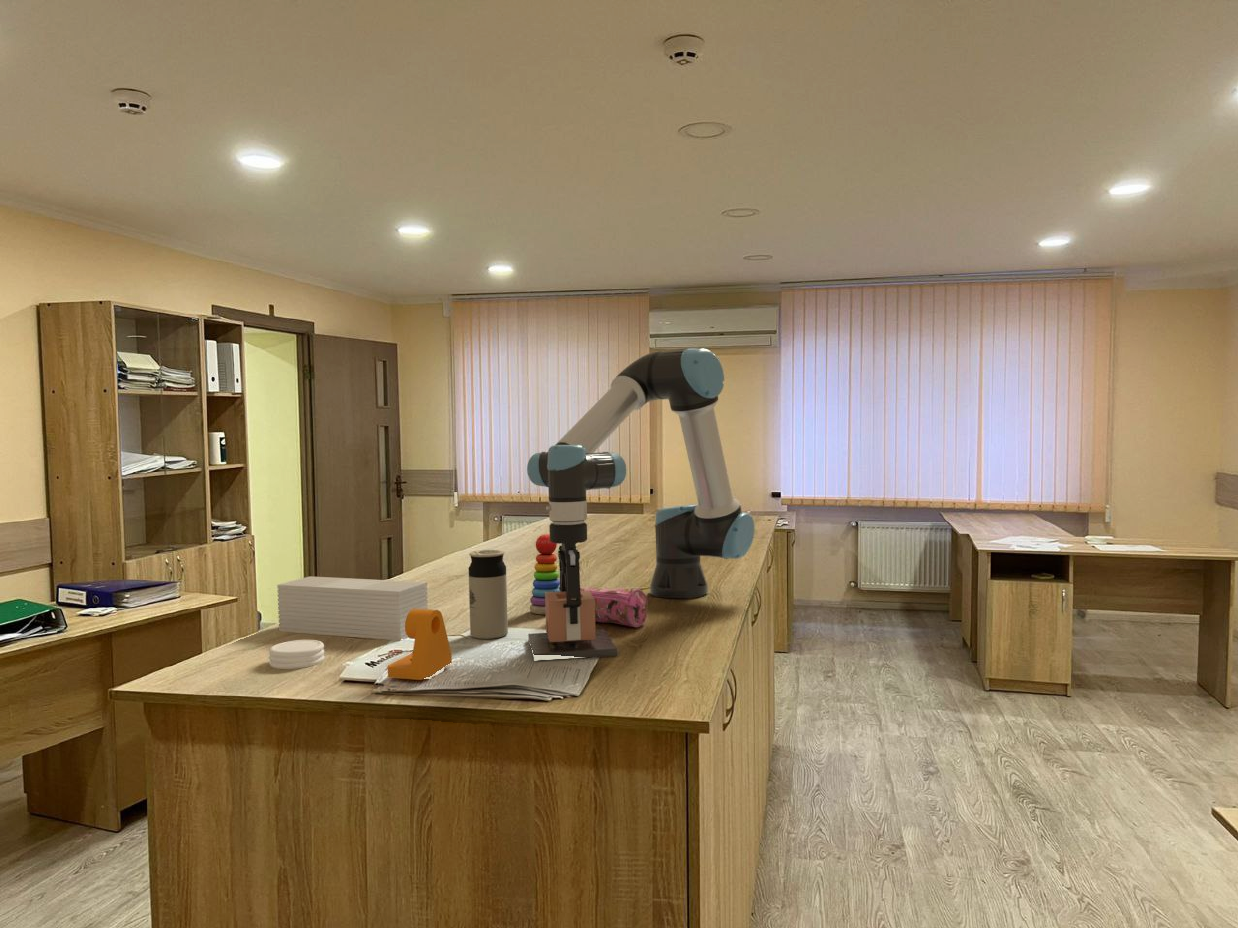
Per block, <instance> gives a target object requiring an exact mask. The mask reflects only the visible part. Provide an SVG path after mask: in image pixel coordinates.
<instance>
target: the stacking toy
mask: <svg viewBox="0 0 1238 928" xmlns="http://www.w3.org/2000/svg"><path fill="white" fill-rule="evenodd" d="M557 545H558V543H552V542H551V541H550V533H549V534H548V533H544V534H541V535H540V536H539V537H537V539H536V540H535V548H536V551H537V552H538V553H539V554H536V556H535V562H536V563H535V565H534V570H535V572H534V574H533V577H534V580H533V581H532V587H533V588H532V590H531V595H532V596H531V597H530V599H529V600H530V603H531V604H530V606H529V611H530V612H531V613H532V614H536V615H546V612H545V592H560V589H559V587H560V579H558V578H560V572H558V570H557V569H558V564H557V563H556V562H557V559H558V557H557V555H556V554H555V553H554V552H555V551H556V549H557V547H558V546H557Z"/></svg>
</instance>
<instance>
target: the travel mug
mask: <svg viewBox="0 0 1238 928" xmlns="http://www.w3.org/2000/svg"><path fill="white" fill-rule="evenodd" d="M504 555H505V551H504V550H501V549H481V550H480V549H479V550H474V551H470V552H469V556H470V560H471V562H470V565H469V567H468V593H469V594H468V597H469V626H470V627H469V628H470V629H469V630H470V631H469V632H470V633H469V634H470V636H471V637H472V638H474V639H478V640H494V639H500V638H503V637H504V636H506V635H508V633H509V627H508V625H509V624H508V589H507V587H508V586H507V585H508V584H507V565H506V564H505V562H504Z"/></svg>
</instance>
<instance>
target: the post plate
mask: <svg viewBox="0 0 1238 928" xmlns="http://www.w3.org/2000/svg"><path fill="white" fill-rule="evenodd" d="M595 638H596V639H594V640H578V641H561V642H550V641H549V639H548V635H547V633H546V632H537V633H528V643H529V642H530V644H531V648H532V650H533V654H534V655H561V656H574V657H597V658H607V657H618V649H617V647H616V645H615V643H614V642H613V641H612V639H611V637H610V636H609V634H608V633H607V631H606V630H605V629H604V628H602V629H595ZM530 644H529V645H530ZM531 648H530V649H531Z"/></svg>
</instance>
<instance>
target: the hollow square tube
mask: <svg viewBox="0 0 1238 928" xmlns="http://www.w3.org/2000/svg"><path fill="white" fill-rule="evenodd" d="M580 593H581V602H582V604H581V606H580V630H581V640H594V639H596V638H595V630H596V622H595V599H594V597H593V596H592V594H591V593H590V591H589V590H585V591H580ZM571 600H576V599H571ZM566 603H567V600H566V591H565V592H545V612H546V614H545V633H547V635H548V639H549V641H550V642H561V641H567V638H566V608H563V604H566ZM568 641H578V640H568Z"/></svg>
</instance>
